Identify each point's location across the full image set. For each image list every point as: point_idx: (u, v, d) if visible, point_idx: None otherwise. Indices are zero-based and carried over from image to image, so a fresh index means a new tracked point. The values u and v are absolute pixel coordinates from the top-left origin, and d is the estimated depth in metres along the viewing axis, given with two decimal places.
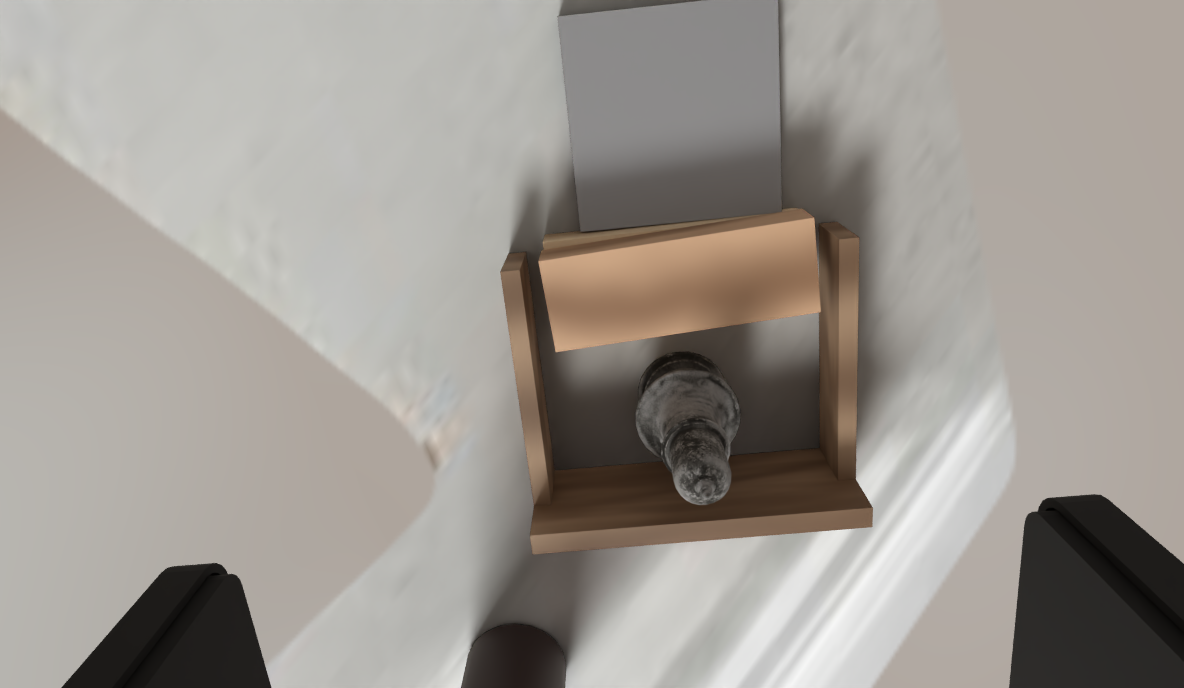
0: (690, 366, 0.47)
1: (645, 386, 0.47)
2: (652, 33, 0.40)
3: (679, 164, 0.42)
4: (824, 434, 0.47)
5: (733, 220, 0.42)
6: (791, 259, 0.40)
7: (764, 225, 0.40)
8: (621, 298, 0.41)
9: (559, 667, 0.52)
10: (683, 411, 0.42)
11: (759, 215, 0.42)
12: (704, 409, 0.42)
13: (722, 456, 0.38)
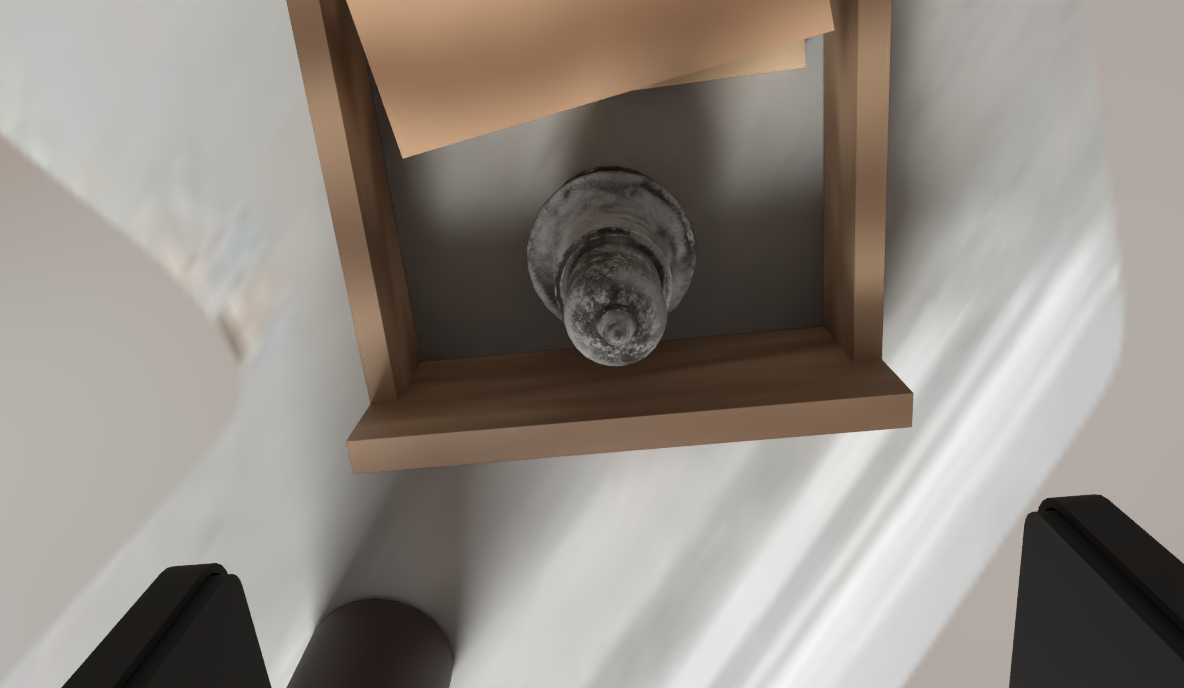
0: None
1: None
2: None
3: None
4: (831, 298, 0.31)
5: None
6: None
7: None
8: (494, 46, 0.24)
9: (436, 663, 0.35)
10: (597, 229, 0.25)
11: None
12: (632, 228, 0.25)
13: (650, 275, 0.21)
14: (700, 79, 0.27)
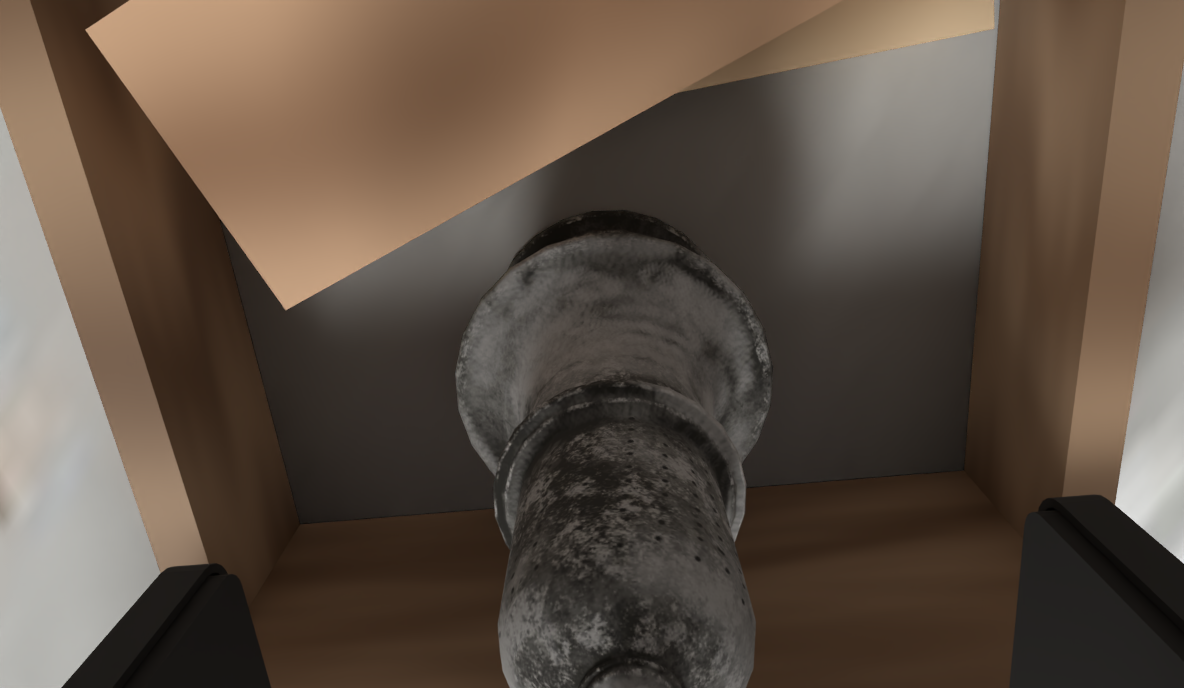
0: None
1: None
2: None
3: None
4: (990, 437, 0.18)
5: None
6: None
7: None
8: (400, 60, 0.12)
9: None
10: (584, 361, 0.12)
11: None
12: (657, 357, 0.13)
13: (716, 548, 0.08)
14: (794, 65, 0.14)
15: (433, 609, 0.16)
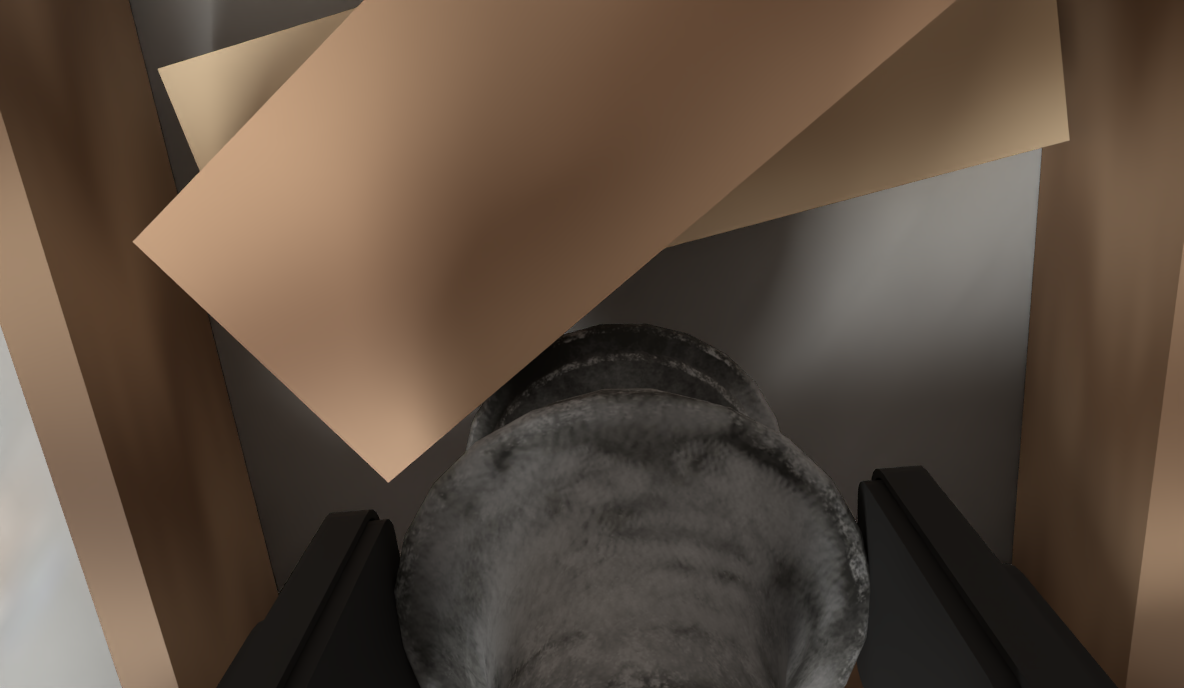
0: (652, 379, 0.12)
1: None
2: None
3: None
4: (1041, 555, 0.16)
5: None
6: None
7: None
8: (459, 197, 0.11)
9: None
10: (589, 638, 0.07)
11: None
12: (708, 619, 0.08)
13: None
14: (852, 194, 0.13)
15: None
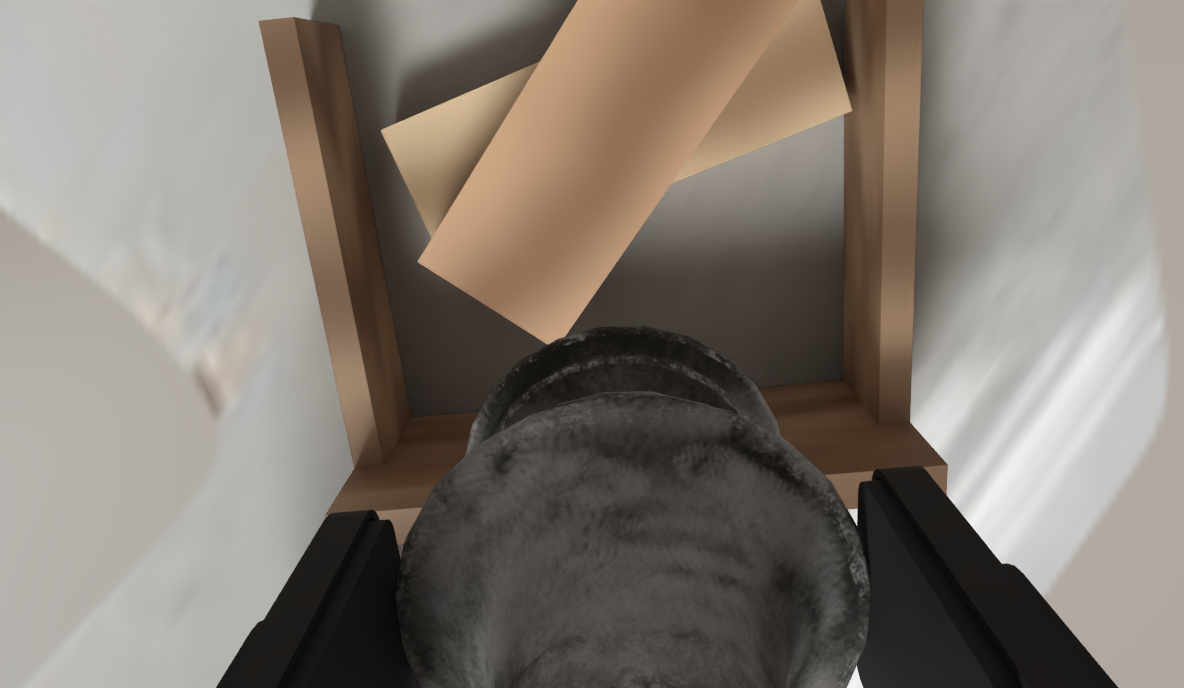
0: (653, 382, 0.12)
1: None
2: None
3: None
4: (852, 352, 0.28)
5: None
6: None
7: None
8: (559, 203, 0.23)
9: None
10: (589, 643, 0.07)
11: None
12: (708, 623, 0.08)
13: None
14: (743, 152, 0.25)
15: None
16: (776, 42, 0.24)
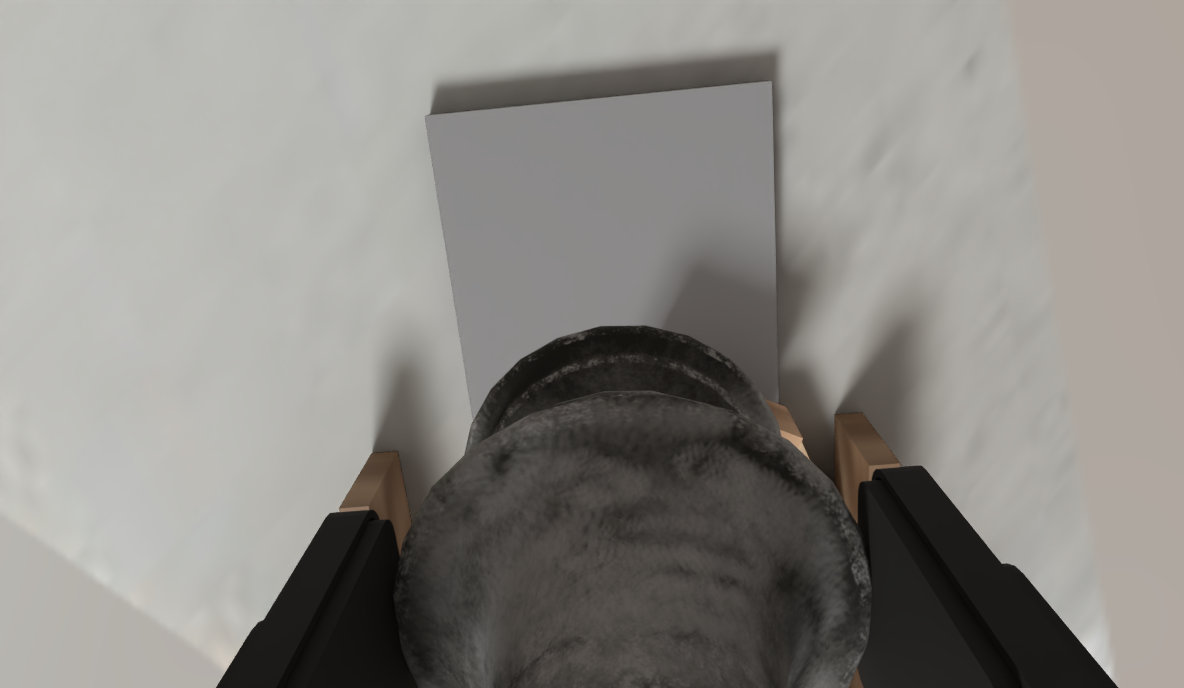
0: (653, 381, 0.12)
1: None
2: (575, 142, 0.26)
3: None
4: None
5: None
6: None
7: None
8: None
9: None
10: (588, 644, 0.07)
11: None
12: (709, 624, 0.08)
13: None
14: None
15: None
16: None
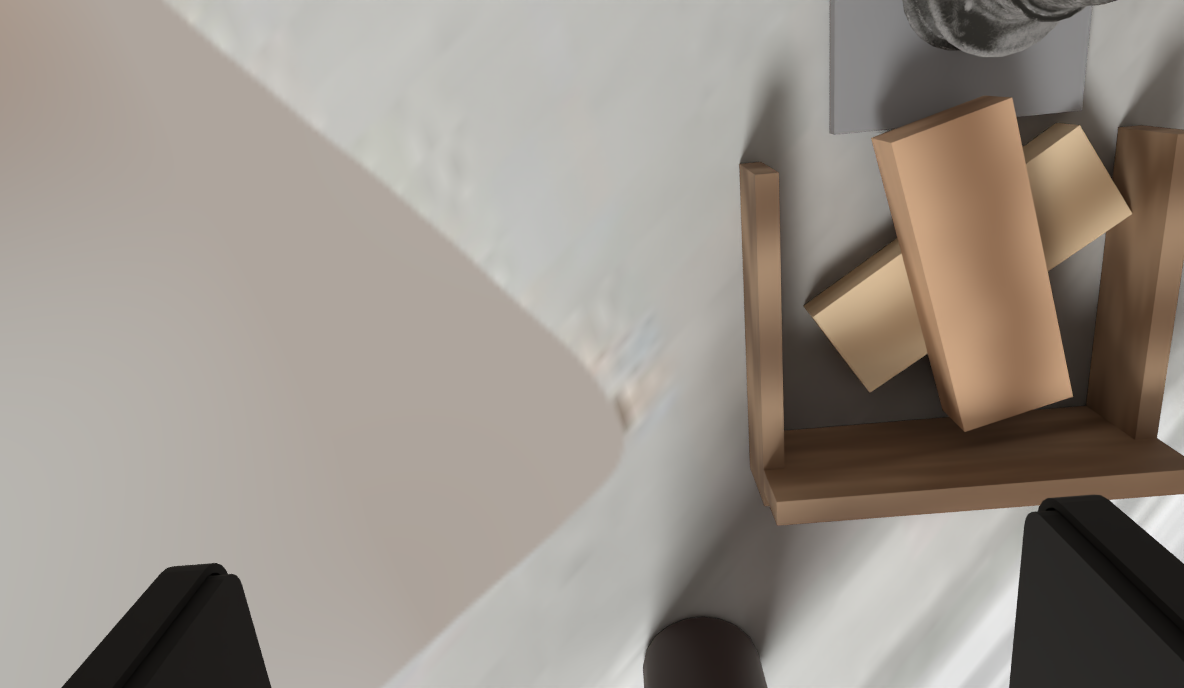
0: None
1: None
2: None
3: None
4: (1102, 387, 0.40)
5: (893, 216, 0.36)
6: (945, 155, 0.33)
7: (904, 198, 0.34)
8: (1003, 339, 0.36)
9: (760, 668, 0.44)
10: None
11: (884, 186, 0.36)
12: None
13: None
14: (1061, 261, 0.37)
15: (868, 457, 0.38)
16: (1071, 187, 0.36)
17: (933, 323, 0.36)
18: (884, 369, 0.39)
